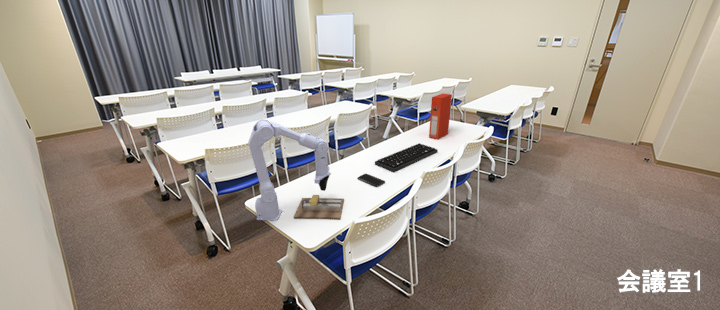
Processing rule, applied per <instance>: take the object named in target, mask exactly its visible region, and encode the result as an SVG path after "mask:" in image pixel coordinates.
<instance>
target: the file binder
mask: <svg viewBox="0 0 720 310" xmlns="http://www.w3.org/2000/svg"><path fill="white" fill-rule="evenodd" d="M452 95H453V94H452V93H451V94H450V93H441V94H438V95H435V96H432V97H431V103H430V105H431V106H430V107H431V108H430V117H429V118H430V119H429V120H430V121H429V132H428V133H429V134H428V138H429V139H433V140H440V139H442V138H444V137H446V136H448V134H449V129H450V128H449V127H450V120H451V119H450V118H451V117H450V115H451V107H452V98H453V96H452Z"/></svg>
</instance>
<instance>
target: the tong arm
mask: <svg viewBox="0 0 720 310" xmlns="http://www.w3.org/2000/svg"><path fill="white" fill-rule="evenodd" d="M310 201H311V199H310V200H309V203H310ZM318 203H319V204H341V200H319V201H318ZM341 206H342V205H341Z"/></svg>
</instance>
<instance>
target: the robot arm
mask: <svg viewBox="0 0 720 310" xmlns="http://www.w3.org/2000/svg"><path fill="white" fill-rule="evenodd" d="M280 136H281V137H285V138H288V139H290V140H294V141H297V143H298V144H299V146H302V147H305V148H307V149H309V150H314V160H315V163H314V164H315V178H314V184H318V186H319V188H320V191H324V192H325V191H326V190H327V185H328V180H329V178H330V176H331V174H332V173H331V172H330V166H329V161H328V151H329V149H330V147H329V145H328V143H327V142H326V141H325V139H323V138H322V137H319V136H314V135H313V134H311V133H310V132H302V133H300V132H297V131H295V130H293V129H291V128H288V127H286V126H284V125H281V124H278V123H277V122H274V121H272V120H271V121H269V120H268V119H259V120H258V121H257V122H256V123H254V125H253V127H252V131H251V134H250V137H249V140H248V147H249V151H250V153H251V154H250V155H251V158H252V160H253V161H252V162H253V165H254V168H255V172H256V175H257V180H258V182H259V187H258V189H259V193H260V197H257V198H256V200H255V203H254V207H255V208H254V209H255V214H256V220H257V221H278V220H279V217H281V216H280V215H281V214H282V212H283V209H280V208H279V207H280V206H279V201H278V200H279V199H278V195H277V192H276V190H275V185H274V183H273V182H271V179H270V175H269V170H268V168H267V163H266V161H265V157H264V153H263V149H262V147H263V146H264V144H266V143H267V142H269V141H270V140H271V139H272V138H278V137H280ZM261 218H262V219H261Z"/></svg>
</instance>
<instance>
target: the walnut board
mask: <svg viewBox="0 0 720 310" xmlns="http://www.w3.org/2000/svg"><path fill="white" fill-rule="evenodd" d="M311 198H312V197H301V200H300V202H299V204H298V206H297V208H296V211H295V213H294V215H293V219H295V220H296V219H297V220H298V219H299V220H300V219H302V220H304V219H306V220H337V221H338V220H341V218H342V213H343V208H344V204H345V203H344V202H345V198H337V197H336V198H333V197H331V198H330V197H329V198H327V197H326V198H324V197H319V200H341V205H342V206H341V211H340V212H323V211H304V209H303V208H302V200H308V203H309V200H310V199H311Z"/></svg>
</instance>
